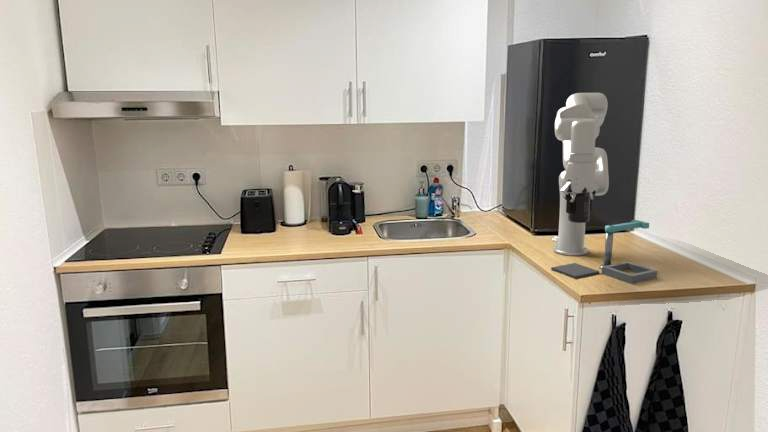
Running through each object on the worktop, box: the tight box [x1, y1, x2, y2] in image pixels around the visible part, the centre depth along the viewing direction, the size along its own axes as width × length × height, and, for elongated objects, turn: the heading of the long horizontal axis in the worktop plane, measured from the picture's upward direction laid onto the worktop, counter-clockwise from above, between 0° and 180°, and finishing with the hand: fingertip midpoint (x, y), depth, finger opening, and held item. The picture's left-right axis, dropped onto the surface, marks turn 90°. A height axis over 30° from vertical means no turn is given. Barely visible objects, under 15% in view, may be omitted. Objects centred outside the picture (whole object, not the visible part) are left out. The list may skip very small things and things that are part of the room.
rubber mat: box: [550, 262, 600, 279], centre depth 192 cm, size 11×11×1 cm
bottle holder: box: [601, 260, 658, 285], centre depth 187 cm, size 12×12×2 cm
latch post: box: [598, 232, 614, 271], centre depth 194 cm, size 5×5×13 cm
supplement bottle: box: [568, 187, 591, 224], centre depth 187 cm, size 7×7×12 cm
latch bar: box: [604, 219, 650, 234], centre depth 195 cm, size 17×6×2 cm, turn 116°
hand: (578, 211), depth 188 cm, fingers closed on supplement bottle, 6 cm apart
